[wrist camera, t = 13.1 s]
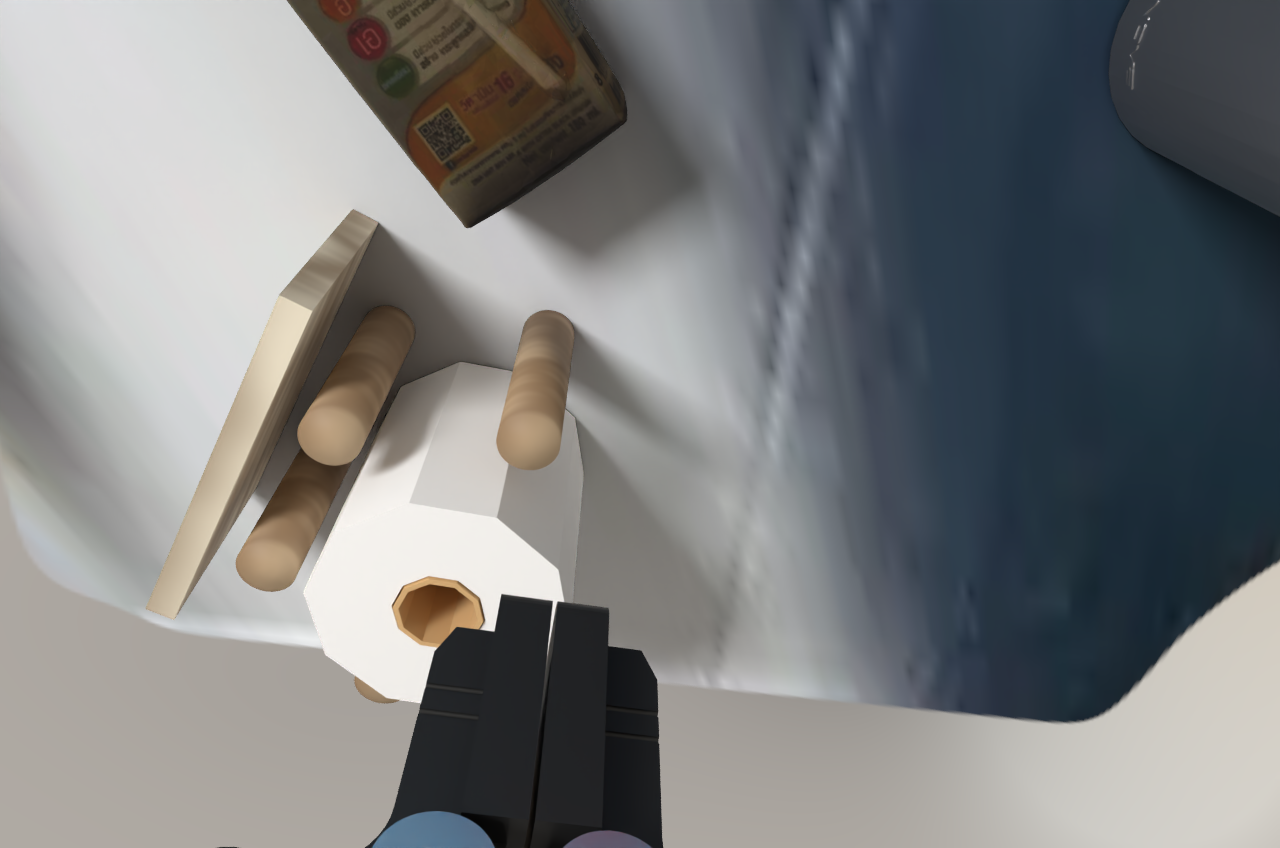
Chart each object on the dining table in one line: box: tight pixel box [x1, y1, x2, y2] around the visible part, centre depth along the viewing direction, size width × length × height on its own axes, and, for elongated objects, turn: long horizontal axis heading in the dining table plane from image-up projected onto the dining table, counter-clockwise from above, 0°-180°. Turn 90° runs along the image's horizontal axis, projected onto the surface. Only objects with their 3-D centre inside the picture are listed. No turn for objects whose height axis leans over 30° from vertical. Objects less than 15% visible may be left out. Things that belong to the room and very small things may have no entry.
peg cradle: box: [146, 210, 574, 703], centre depth 42 cm, size 11×16×10 cm
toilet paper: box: [303, 362, 584, 703], centre depth 43 cm, size 10×10×12 cm
